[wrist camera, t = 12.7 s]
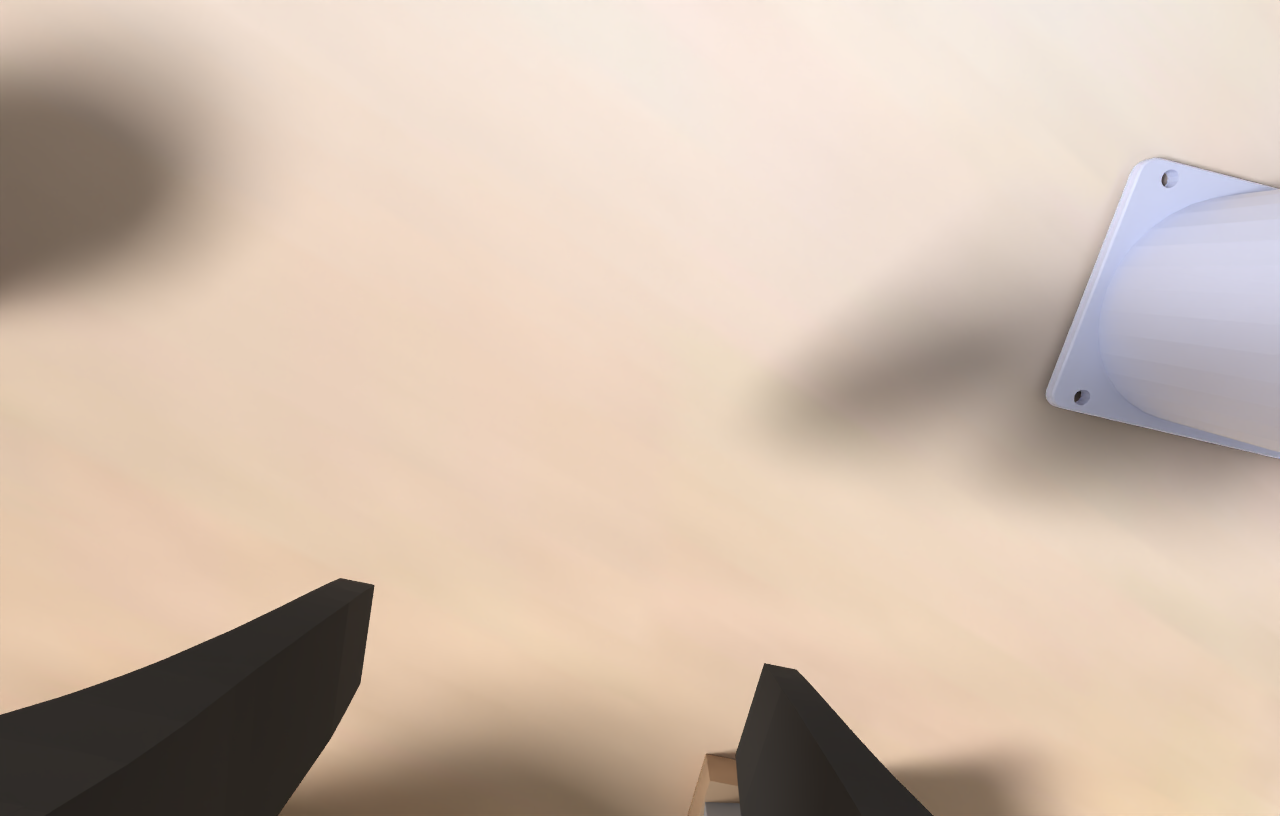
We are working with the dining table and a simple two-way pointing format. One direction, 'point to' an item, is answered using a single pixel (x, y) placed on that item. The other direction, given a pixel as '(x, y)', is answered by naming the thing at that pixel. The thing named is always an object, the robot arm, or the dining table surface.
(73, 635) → the dining table surface
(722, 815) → the grey slab
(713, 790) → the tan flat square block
